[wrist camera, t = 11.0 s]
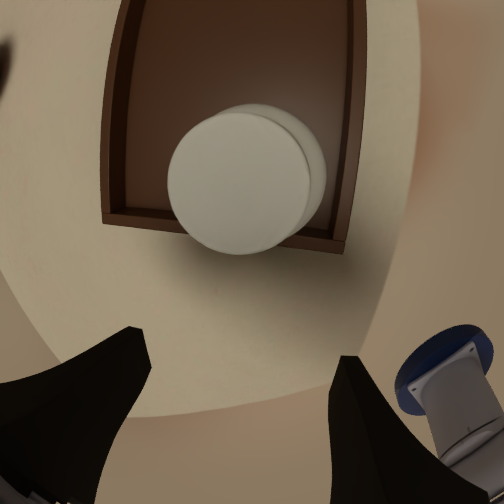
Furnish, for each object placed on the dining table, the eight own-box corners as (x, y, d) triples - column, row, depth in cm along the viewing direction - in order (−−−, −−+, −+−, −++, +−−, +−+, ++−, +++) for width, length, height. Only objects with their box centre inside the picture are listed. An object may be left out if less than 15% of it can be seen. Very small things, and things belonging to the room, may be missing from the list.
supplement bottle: (325, 135, 15) (364, 119, 6) (300, 219, 17) (303, 300, 8) (237, 112, 15) (167, 75, 6) (216, 195, 17) (137, 248, 8)
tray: (337, 240, 18) (343, 255, 15) (122, 214, 19) (102, 224, 17) (348, -86, 7) (351, -102, 4) (171, -81, 8) (160, -94, 6)
